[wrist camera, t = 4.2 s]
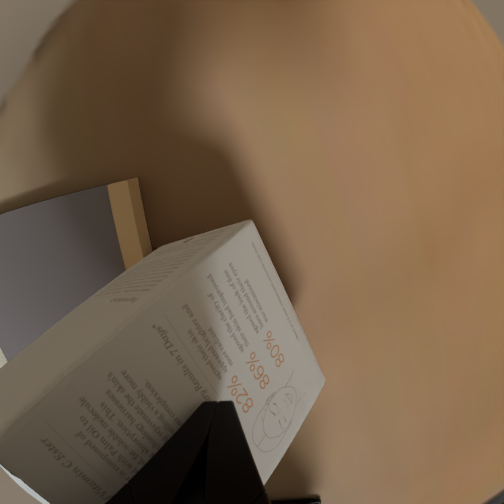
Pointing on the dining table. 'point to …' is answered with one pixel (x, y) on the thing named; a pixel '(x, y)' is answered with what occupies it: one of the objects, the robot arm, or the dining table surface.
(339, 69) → the dining table surface
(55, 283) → the mat
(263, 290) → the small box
